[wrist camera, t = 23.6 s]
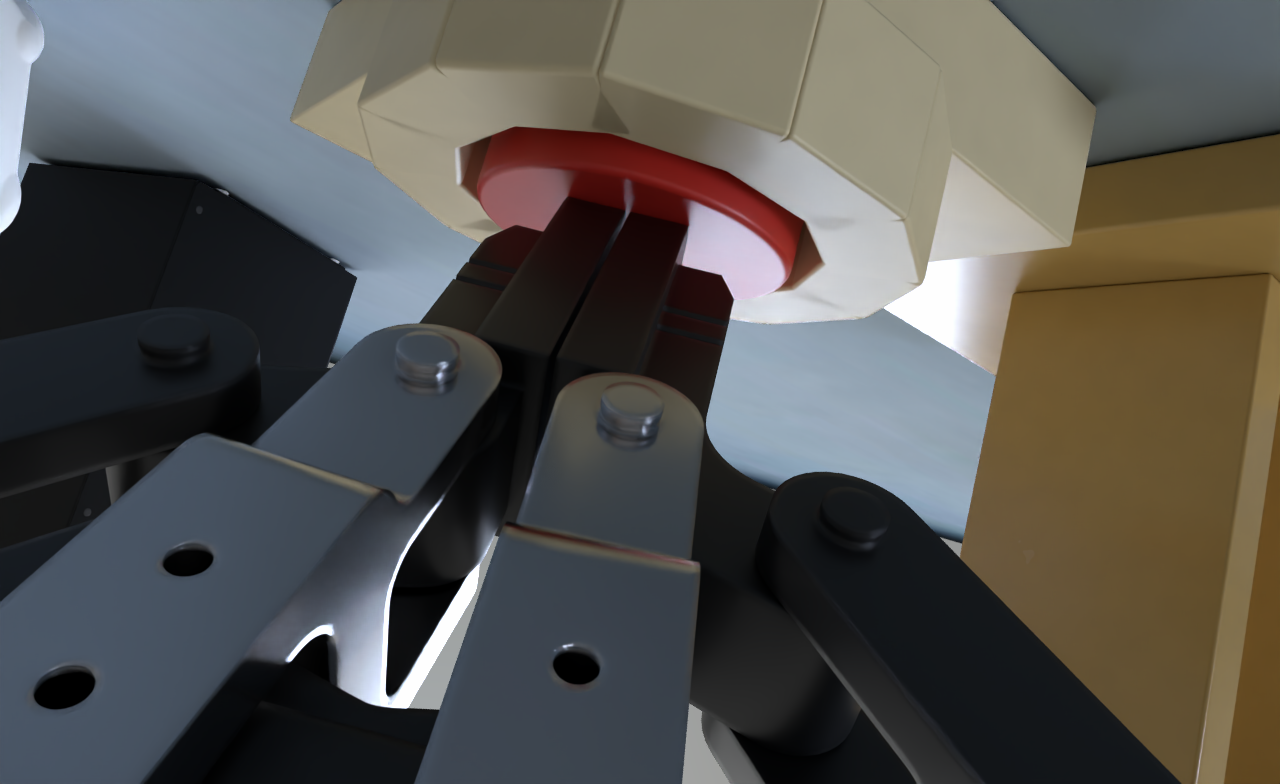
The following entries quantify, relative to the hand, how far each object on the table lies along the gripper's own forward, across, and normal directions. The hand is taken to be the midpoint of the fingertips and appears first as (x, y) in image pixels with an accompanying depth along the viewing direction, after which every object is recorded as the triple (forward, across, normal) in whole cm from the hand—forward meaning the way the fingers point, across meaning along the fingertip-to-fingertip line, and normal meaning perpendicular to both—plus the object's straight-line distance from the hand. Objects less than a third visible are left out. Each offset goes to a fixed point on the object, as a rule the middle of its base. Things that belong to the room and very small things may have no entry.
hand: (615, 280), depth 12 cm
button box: (+6, 0, -1) cm, 6 cm away
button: (+2, 0, -2) cm, 3 cm away
